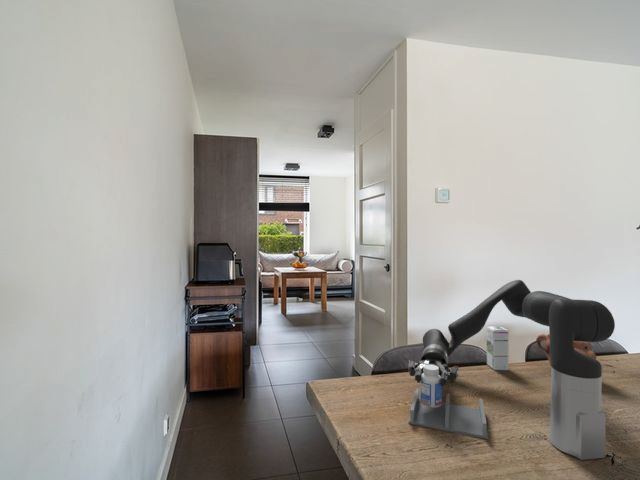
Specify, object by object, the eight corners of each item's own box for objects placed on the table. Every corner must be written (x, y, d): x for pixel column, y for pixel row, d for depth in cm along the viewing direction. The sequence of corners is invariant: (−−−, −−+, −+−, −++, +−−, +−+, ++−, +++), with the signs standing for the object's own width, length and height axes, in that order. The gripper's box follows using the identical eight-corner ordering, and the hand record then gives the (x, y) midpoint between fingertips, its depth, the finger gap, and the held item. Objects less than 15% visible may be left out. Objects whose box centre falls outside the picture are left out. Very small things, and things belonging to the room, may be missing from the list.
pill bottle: (439, 399, 96) (439, 363, 96) (443, 408, 91) (444, 371, 91) (418, 398, 97) (419, 362, 96) (422, 407, 91) (422, 370, 91)
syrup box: (509, 370, 126) (509, 330, 126) (492, 370, 126) (493, 329, 126) (501, 364, 132) (501, 326, 132) (485, 364, 132) (486, 325, 132)
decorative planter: (525, 366, 130) (525, 329, 130) (544, 361, 136) (544, 325, 136) (586, 387, 112) (587, 343, 112) (605, 380, 118) (606, 338, 118)
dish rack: (414, 400, 102) (414, 387, 102) (483, 412, 95) (484, 399, 95) (408, 423, 89) (408, 409, 89) (488, 439, 82) (488, 424, 82)
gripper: (459, 375, 104) (459, 400, 89) (410, 368, 110) (402, 390, 94) (460, 350, 104) (460, 370, 88) (410, 344, 109) (402, 362, 94)
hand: (430, 380), depth 91 cm, fingers closed on pill bottle, 5 cm apart
